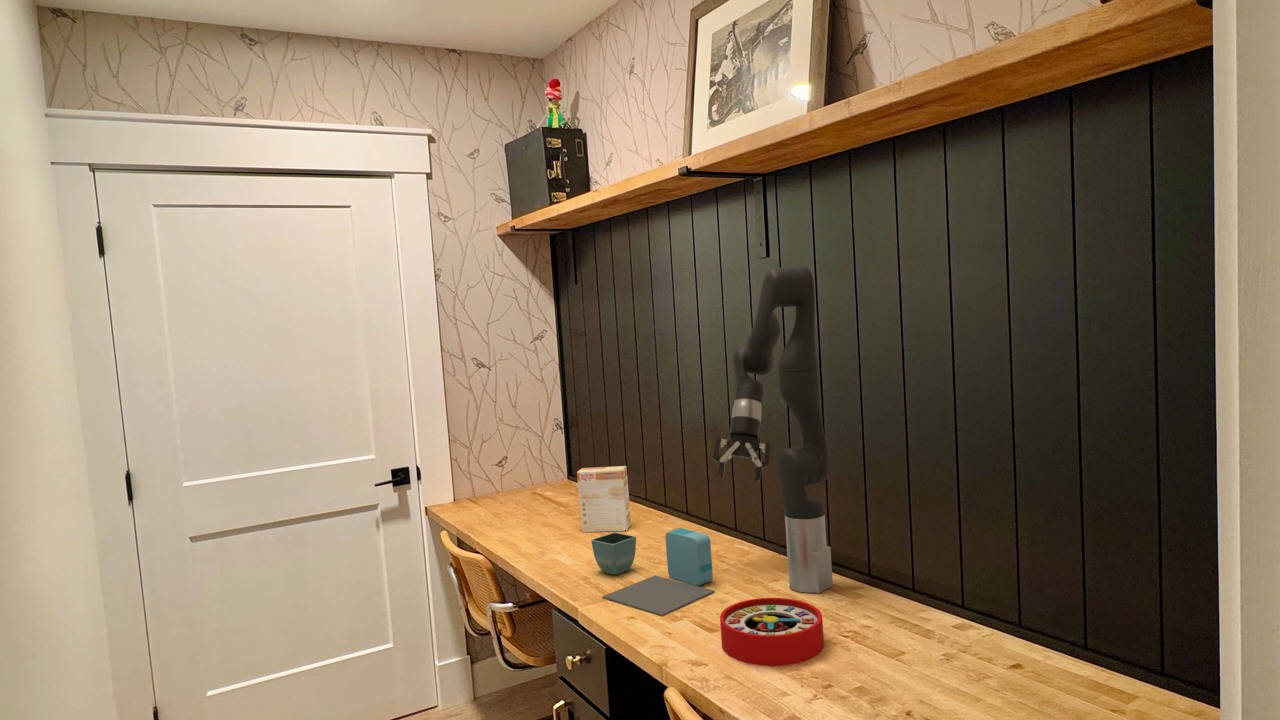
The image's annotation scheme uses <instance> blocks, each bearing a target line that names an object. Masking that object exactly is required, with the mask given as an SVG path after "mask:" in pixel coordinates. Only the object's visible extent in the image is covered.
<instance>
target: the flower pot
mask: <svg viewBox="0 0 1280 720" xmlns="http://www.w3.org/2000/svg"><path fill="white" fill-rule="evenodd" d="M590 541H591V546H592V552H593V556H594V559H595V562H596V564H597V565H598V567H599V569H600V570H601V571H602V572H603V573H606V574H607V573H608V574H610V575H615V576H617V575H620V574H622V573H624V572H625V573H626V572H627V571H630V568H631V567H632V566H633V563H634V560H635V557H636V550H637V549H636V548H637V536H635V535H630V534H623V533H620V532H616V531H613V532H610V533H608V534H605V535H602V536H598V537H595V538H593V539H592V538H591V540H590Z"/></svg>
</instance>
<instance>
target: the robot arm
mask: <svg viewBox="0 0 1280 720" xmlns="http://www.w3.org/2000/svg"><path fill="white" fill-rule="evenodd" d="M761 284H762V285H761V289H760V295H759V299H758V305H757V310H756V317H755V320H754V323H753V326H752V328H751V331H750V333H749V336H748V337H747V338H748V339H747V341H746V342H747V343H746V345H740V346H738V347H737V348H736V349H735V350H734V352H733V356H732V359H733V360H732V362H733V369H734V372H735V373H734V374H735V375H734V376H735V383H736V388H735V394H734V395H735V396H734V403H733V406H732V410H731V411H732V412H731V421H730V427H729V435H728V438H727V439H725V438H722V437H720V436H717V437H716V439H715V444H714V450H713V454H712V455H713V456H712V459H713V461H714V462H716V463H718V472H717V473H718V474H717V475H718V476H719V479H721V480H724V477H725V471H726V463H727V462H728V461H729V460H730V459H732V457H735V458H740V459H741V458H743V459H746V460H747V459H750V458H751V460H752V462H753V463H754V465H755V470H754V471H755V472H754V478H753V479H754V481H753V483H754V484H758V482H761V481H760V480H761V478H762V477H761V476H762V470H763V469H767V468H768V469H769V467H770V462H771V461H770V460H771V458H770V457H771V455H770V454H771V443H770V442H765V443H763V442H762V443H761V442H760V441H759V439H760V430H761V423H762V422H761V421H762V405H763V403H762V402H763V396H764V395H763V394H764V385H763V383H762V382H761V381H758V380H757V379H755V378H753V377H751V376H750V375H748V374H753V375H758V376H765V375H768V374H769V373H771V371H772V369H773V365H774V355H773V354H774V349H775V348H776V347H775V346H776V344H777V343H778V340H779V339H780V336H781V324H780V321H779V319H778V317H777V316H776V314H775V312H774V311H775V310H776V308H791V307H795V318H794V319H795V320H794V325H793V329H792V332H791V334H790V336H789V339H788V340H787V343H786V344H785V346H784V348H783V350H782V352H781V354H780V357H779V359H778V363H777V372H778V373H777V375H778V386H779V392H780V394H781V397H782V399H783V401H784V402H785V404H786V405H787V407H788V409H790V411H791V412H792V413H793V415H794V417H795V418H796V420H797V422H798V425H799V427H800V432H801V439H802V445H801V446H795V447H789V448H785V449H783V450H781V452H780V453H779V455H778V458H777V473H778V482H779V483H778V484H779V489H780V490H779V492H780V500H781V504H782V507H783V510H784V521H785V523H784V525H785V535H786V536H785V537H786V540H785V541H786V554H787V570H788V584H789V588H790V589H791V590H793V591H795V592H799V593H811V594H812V593H813V594H814V593H816V594H820V593H822V592H824V591H826V590H828V589H830V588H832V587H833V586H834V583H833V582H834V581H833V568H832V552H831V551H832V550H831V549H832V548H831V546H829V545H827V533H826V530H827V529H826V516H825V515H826V513H825V504H824V502H823V501H822V500H820V499H817V498H813V497H809V496H808V494H807V490H806V489H807V488H806V487H807V486H812V485H817V484H821V483H824V482H826V480H827V478H828V476H829V473H830V472H829V471H830V459H829V453H828V452H829V451H828V447H827V441H826V434H825V430H824V425H823V414H822V407H821V396H820V395H821V394H820V393H821V392H820V379H819V378H820V377H819V366H818V357H817V344H816V343H817V342H816V331H815V329H816V328H815V325H816V324H815V308H816V307H815V306H816V305H815V301H816V299H815V298H816V297H815V293H816V292H815V281H814V276H813V273H812V271H811V269H810V268H809V267H808V266H799V265H798V266H786V267H776V268H771V269H768V271H766V273H765V275H764V278H763V280H762V283H761ZM725 445H727V447H728V450H726V452H725V453H724V454H723V455H722V456H720V453H721V448H723V447H724V446H725ZM759 449H761V451H762V453H764V461H763V462H761V461H760V460H761V459H759V457H758V455H757V453H756V452H757V451H759Z"/></svg>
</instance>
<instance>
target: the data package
mask: <svg viewBox="0 0 1280 720" xmlns="http://www.w3.org/2000/svg"><path fill="white" fill-rule="evenodd" d="M665 549H666V550H665V551H666V563H667V573H668V576H669V577H670V578H671V579H672V580H675V581H679V582H683V583H687V584H690V585H694V586H698V587H700V586H701V585H704V584H707V583H710V582H712V581H713V577H714V576H713V561H712V559H713V558H712V545H711V539H710V536H709V535H708V534H706V533H704V532H699V531H695V530H690V529H686V528H684V527H683V528H682V527H680V528H675V529H672V530H669V531H667V532H666V533H665Z"/></svg>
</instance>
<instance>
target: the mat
mask: <svg viewBox="0 0 1280 720" xmlns="http://www.w3.org/2000/svg"><path fill="white" fill-rule="evenodd" d="M715 593H716V590H713V589H709V588H706V587H702V586H695V585H692V584H689V583H686V582H683V581H680V580H676V579H672V578H671V579H670V578H667V577H663V576H659V575H652V576H650V577H647V578H645V579H643V580H640V581H638V582H635V583H632V584H629V585H627V586H625V587H622V588H619V589H617V590H615V591H612V592H610V593H607V594H605V595H603V596H602V595H601V596H602V597H601V598H602V599H604V600H608V601H611V602H615V603H618V604H620V605H624V606H627V607H630V608H634V609H637V610H640V611H644V612H647V613H649V614H653V615H657V616H660V617H664V616H666V615H668V614H670V613H673V612H675V611H677V610H680V609H681V608H684V607H685V606H688V605H691V604H693V603H694V602H697V601H700V600H702V599H704V598H706V597H708V596H710V595H713V594H715Z"/></svg>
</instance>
